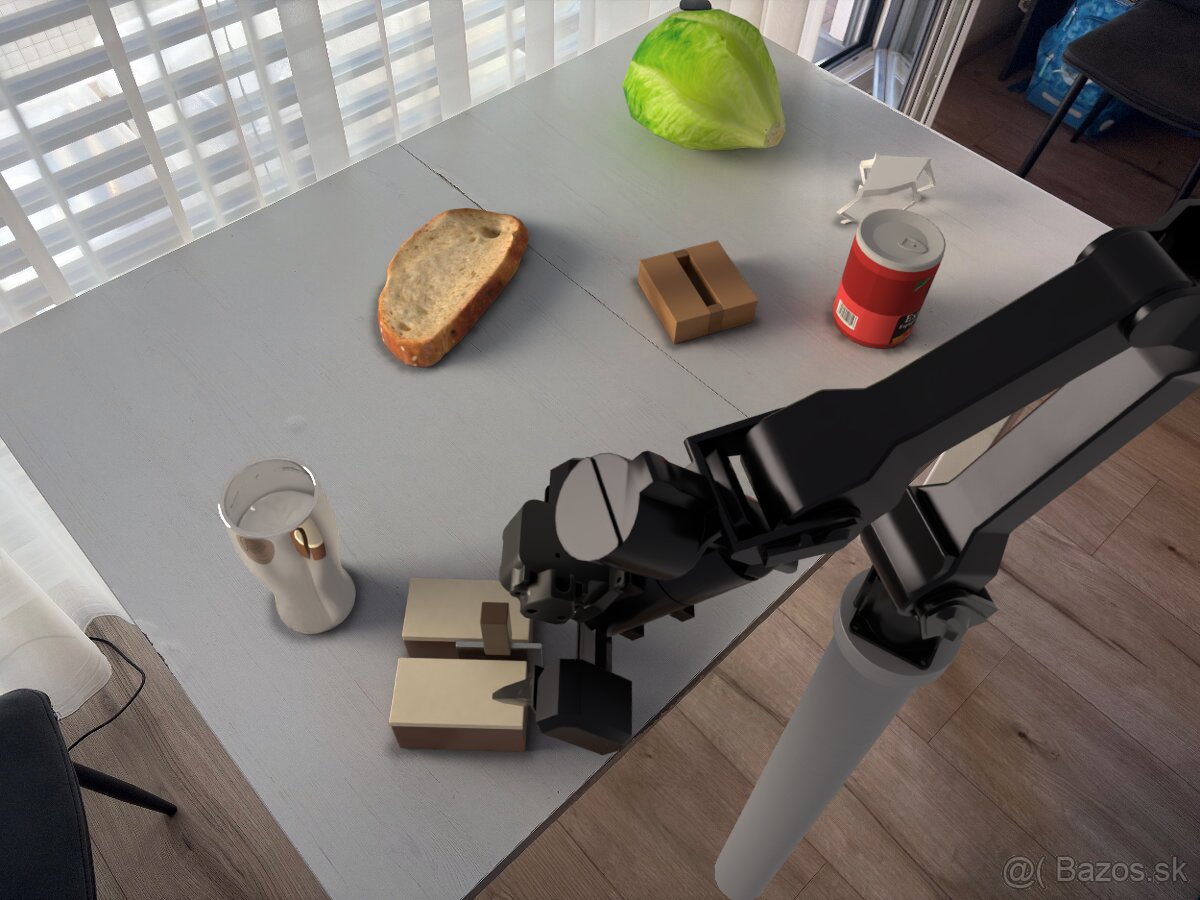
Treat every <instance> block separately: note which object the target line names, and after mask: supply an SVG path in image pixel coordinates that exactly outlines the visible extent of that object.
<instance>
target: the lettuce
mask: <svg viewBox="0 0 1200 900" xmlns="http://www.w3.org/2000/svg"><path fill="white" fill-rule="evenodd" d="M621 85H622V88H623V94H624V99H625V101H626V106H627V109H628V111H629V114H630V117H631V119H633V120H634V121H636V122H637V123H639V124H640V125H641V126H642V127H644V128H646V129H647V130H648V131H650V132H651V133H652V134H654V135H656V136H658V137H660V138H662V139H663V140H666V141H668V142H670V143H672V144H674V145H677V146H678V147H681V148H683V149H686V150H700V151H711V152H712V151H728V150H729V151H730V150H738V149H769V148H771V147H775V146H777V145H778V144H779V143H780V142H781V141H782V139H783V137H784V136H785V133H786V118H785V114H784V110H783V106H782V102H781V94H780V82H779V79H778V75H777V72H776V68H775V65H774V62H773V60H772V58H771V55H770V52H769V50H768V47H767V45H766V43H765V40H764V38H763V36H762V34H761V31H760V29H759V28H757V27H756V26H755V25H754V24H752V23H751V22H750V21H748V20H747V19H745V18H743V17H740V16H738V15H736V14H733V13H730V12H728V11H726V10H723V9H721V8H716V9H715V8H714V9H702V10H680V11H676V12H674V13H673V12H672V13H671V14H669V15H668V16H667V17H666V18H665V19H664V20H663V21H661V22H660V23H659V24H658V25H657V26H655V27H654V28H653V29H652V30H650V32H648V33H647V34H646V35H645V36H644V38H643V39H642V40H641V41H640V43H639V44H638V46H637V47H636V49H635V51H634V53H633V54H632V57H631V61H630V63H629V65H628V68H627V71H626V73H625V76H624V79H623V81H622V84H621Z"/></svg>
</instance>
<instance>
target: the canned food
mask: <svg viewBox="0 0 1200 900" xmlns="http://www.w3.org/2000/svg"><path fill="white" fill-rule="evenodd" d="M946 245H947V244H946V239H945V236H944V234H943V233H942V231H941V230H940V228H939V227H938V226H936V224H935V223H933V221H931V220H930V219H928V218H926V217H924V216H923V215H920V214H919V213H915V212H913V211H909V210H907V209H906V210H902V209H900V208H899V209H898V208H883V209H878V210H875V211H872V212H870V213H868V214H867V215H865V216H864V217H863V218H862V219H861V221H859V224H858V227H857V228H856V231H855V235H854V237H853V239H852V244H851V246H850V249H849V253H848V257H847V259H846V263H845V265H844V269H843V272H842V276H841V279H840V282H839V285H838V289H837V292H836V295H835V299H834V302H833V305H832V315H833V321H834V324H835V326H836V327H837V329H838V330H839V332H840V333H841V334H843V336H845V337H846V338H847V339H849V340H850V341H852V342H854V343H855V344H858V345H860V346H864V347H867V348H873V349H888V348H892V347H895V346H897V345H899V344H901V343H902V342H903V341H904V340H906V338H908V336H909V335H910V334H911V333H912V331H913V329H914V327H915V324H916V322H917V320H918V317H919V315H920V313H921V310H922V308H923V306H924V303H925V301H926V299H927V297H928V294H929V292H930V289H931V288H932V285H933V283H934V280H935V278H936V275H937V273H938V271H939V269H940V266H941V263H942V261H943V259H944V255H945V251H946Z"/></svg>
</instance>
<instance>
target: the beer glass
mask: <svg viewBox="0 0 1200 900" xmlns="http://www.w3.org/2000/svg"><path fill="white" fill-rule="evenodd" d="M218 511H219V514H220V517H221V519H222V521H223V523H224V526H225V529H226V531H227V534H228V537H229V539H230V542H231V543H232V545H233V548H234V550H235V552H236V554H237V555H238V557H239V558H240V560H241V561H242V563H243V565H244V566H245V567H246V568H247V569H248V570H249V571H250V573H251V574H252V575H253V576H254V577H255V578H256V579H257V580H258V581H259V582H260V583H261V584H262V585H263V586H265V588H267V589H268V590H269V591H270V592H271V593H272V594H273V595H274V601H275V607H276V611H277V614H278V617H279V618H280V620H281V621H282V623H283V624H284V625H285V626H286V627H287V628H289V629H290V630H292V631H294V632H296V633H299V634H304V635H316V634H321V633H326V632H328V631H330V630H332V629H334V628H337V626H339V625H340V624H341V623H343V622H344V621H345V620H346V619H347V617H348V616H349V615H350V613H351V612H352V610H353V608H354V605H355V603H356V596H357V595H356V594H357V593H356V592H357V591H356V586H355V583H354V580H353V579H352V577H351V575H350V574H349V573H348V572H347V571H346V570H345V569H344V567H342V564H341V546H340V545H341V543H340V534H339V525H338V522H337V519H336V516H335V512H334V508H333V506H332V504H331V502H330V499H329V498H328V495H327V493H326V491H325V490H324V488H323V486H322V484H321V482H320V480H319V478H318V475H317V473H316V472H315V471H314V469H313V468H312V467H311V465H309V464H308V463H306V462H305V461H304V460H302V459H299V458H297V457H295V456H290V455H284V454H283V455H282V454H273V455H265V456H261V457H258V458H255V459H252V460H250V461H247V462H246V463H244V464H243V465H241V466H239V468H237V469H236V470H234V471H233V472H232V473H231V475H229V477H228V478H227V479H226V481H225V482H224V484H223V485H222V487H221V489H220V492H219V497H218Z"/></svg>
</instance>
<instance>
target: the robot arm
mask: <svg viewBox="0 0 1200 900" xmlns="http://www.w3.org/2000/svg"><path fill="white" fill-rule="evenodd" d="M1199 389H1200V198H1183V199H1181V200H1178V201H1177V202H1176V203H1175V204H1174V205H1173V206H1172V207H1171V208H1170V209H1169V210H1168V211H1167V212H1166V213H1164V215H1162V217H1160V218H1159V220H1158V221H1156V222H1155V223H1146V224H1130V225H1124V226H1119V227H1114V228H1112V229H1110V230H1108V231H1106V232H1104V233H1102V234H1099V236H1098V237H1096V238H1095V239H1094V240H1092V241H1090V243H1088V244H1087V245H1086V246H1085V248H1084V249H1082V251H1080V252H1079V254H1078V255H1077V257H1076V259H1075V261H1074V263H1073V264H1071V266H1069V267H1067V268H1065V269H1064V270H1062V271H1060V272H1059V273H1057V274H1055V275H1054V276H1052V277H1050V278H1049V279H1047V280H1045V281H1044V282H1042V283H1040V284H1039V285H1037V286H1036V287H1033V288H1032V289H1031V290H1029V291H1027V292H1025V293H1023V294H1022V295H1021V296H1018V297H1017V298H1016V299H1014V300H1012V301H1010V302H1009V303H1007V304H1006V305H1004V306H1002V307H1000V308H999V309H997V310H995V311H994V312H993V313H991V314H989V315H987V316H985V317H983V318H982V319H980V320H979V321H977V322H976V323H974V324H972V325H971V326H968V327H967V328H965V329H964V330H962V331H961V332H959V333H957V334H956V335H954V336H953V337H951V338H949V339H948V340H946V341H944V342H942V343H941V344H939V345H938V346H936V347H934V348H933V349H931V350H929V351H928V352H926V353H925V354H923V355H920V356H919V357H917V358H916V359H915V360H912V361H911V362H909V363H907V364H906V365H904V366H903V367H901V368H899V369H898V370H896V371H895V372H893V373H891V374H889V375H888V376H886V377H884V378H882V379H880V380H878V381H876V382H874V383H872V384H870V385H868V386H866V387H856V388H851V387H850V388H823V389H819V390H816V391H815V392H813V393H810V394H809V395H807V396H805V397H802V398H800V399H798V400H797V401H794V402H793V403H790V404H788V405H786V406H783V407H779V408H776V409H772V410H769V411H766V412H763V413H759V414H756V415H753V416H750V417H747V418H743V419H741V420H738V421H734V422H731V423H728V424H725V425H722V426H718V427H715V428H712V429H709V430H706V431H702V432H699V433H696V434H693V435H690V436H687V437H686V438H685V439H684V440H683V445H684V449H685V451H686V453H687V455H688V457H689V460H690V463H689V464H687V465H686V466H685V467H682V466H680V465H678V464H675V463H673V462H670V461H669V460H668V459H667V458H665V457H664V456H662V455H661V454H658V453H656V452H653V451H651V450H643V451H642V452H640V453H639V454H638V455H636V456H635V457H634V458H633V459H630V458H628V457H626V456H622V455H620V454H616V453H613V452H600V453H598V454H597V453H596V454H595V455H593V456H586V457H571V458H570V459H567V460H566V461H563V462H561V463H560V464H558V465H557V466H555V467H553V468H551V469H549V473H550V474H549V485H547V486H546V487H545V488H544V498H543V500H540V499H535V498H533V499H528V500H527V501H525V502H524V503H523V505H522V506H521V507H520V508H519V509H518V511H517V512H516V513H515V514H514V516H513V517H512V518H511V519H510V521H509V522H508V523H507V525H506V526H505V527H504V528H503V531H502V536H501V537H502V538H501V540H502V550H501V561H500V566H499V571H498V579H499V581H500V583H501V585H502V586H503V587H504V589H506V590H507V591H508V592H510V595H511V596H513V597H516V598H518V599H519V601H520V613H521V614H522V615H523V616H524V617H525V618H528V619H533V621H538V622H542V623H546V624H551V625H557V626H558V625H564V624H566V623H568V622H569V620H572V621H574V622H576V623H577V625H576V647H575V658H558V659H555V660H553V661H550V662H547V664H546V665H545V667H544V666H543V667H540V666H538V665H534V670H533V677H530V678H527V679H524V680H522V681H519V682H516V683H513V684H510V685H507V686H504V687H502V688H501V689H499V690H497V691H495V692H494V693H493V694H492V699H493V700H495V701H498V702H501V703H505V704H511V705H517V706H524V707H528V708H529V709H530V708H531V710H532V713H534V714H535V719H534V720H535V723H536V725H537V727H538V730H539V731H540V732H541V734H542V735H545V736H547V737H550V738H553V739H556V740H558V741H560V742H561V741H562V742H564V743H567V744H569V745H573V746H575V747H578V748H581V749H583V750H587V751H589V752H591V753H595V754H597V755H599V756H600V755H601V756H605V755H609V754H613V753H615V752H619V751H622V750H624V749H625V748H626V747H627V746H629V745H630V744H631V743H632V738H633V680H631V679H629V678H626V677H624V676H622V675H619V674H617V673H615V672H613V647H614V646H613V644H614V643H613V640H614V639H613V638H614V637H615V636H621V637H623V638H625V639H627V640H630V641H631V642H634V641H637V640H639V639H642V638H645V625H646V624H649V623H651V622H654V621H657V620H659V619H661V618H664V617H666V616H667V617H668V616H669V617H671V618H673V619H675V620H677V621H679V622H681V623H684V622H686V621H689V620H692V619H694V618H696V612H695V611H696V609H695V605H697V604H700V603H703V602H705V601H707V600H710V599H712V598H713V599H714V598H715V597H718V596H720V595H724V594H726V593H728V592H730V591H733V590H736V589H738V588H741V587H744V586H746V585H748V584H749V585H750V584H752V583H753V582H756V581H759V580H760V579H763V578H765V577H766V576H768V575H769V574H770V573H772V572H773V571H774V570H775V571H778V572H781V573H783V574H787V575H789V574H795V573H796V572H797V571H798V567H799V561H801V560H805V559H809V558H813V557H817V556H822V555H826V554H827V555H828V554H831V553H835V552H838V551H841V550H843V549H844V548H846V547H847V546H848V544H850V543H851V542H853V541H854V540H856V538H858V537H859V539H860V543H861V544H862V546H863V548H864V550H865V551H866V553H867V556H868V557H869V560H870V561H871V564H872V565H871V566H870V567H869V568H870V570H869V572H868V574H867V576H866V578H865V580H864V582H863V584H862V586H861V588H860V590H859V592H858V594H857V596H856V598H855V600H854V602H853V605H854V607H855V608H857V610H856V612H855V614H854V616H853V618H852V620H851V622H850V624H849V627H848V629H849V631H850V633H852V634H853V635H855V636H857V637H859V638H861V639H863V640H865V641H867V642H869V643H871V644H873V645H874V646H876V647H878V648H880V649H882V650H884V651H886V652H888V653H890V654H892V655H894V656H896V657H898V658H899V659H901V660H903V661H905V662H907V663H909V664H911V665H913V666H915V667H917V668H919V669H921V670H927V669H928V668H929V667H930V666H931V664H932V661H933V659H934V657H935V654H936V652H937V649H938V647H939V645H940V643H941V642H942V640H943V639H944V638H945V639H947V640H950V641H952V642H954V641H958V640H960V639H961V638H962V637H963V638H964V636H965V634H966V633H967V631H968V630H969V629H970V628H973V627H975V626H979V625H981V624H984V623H986V622H987V621H988V619H989V618H990V617H992V616H993V615H994V614H995V613H997V612H998V611H999V608H998V606H997V604H996V603H995V601H994V600H993V597H992V596H991V594H990V593H989V591H988V589H987V588H986V585H988V584H989V583H990V582H991V581H992V580H993V579H994V578H995V577H996V576H997V574H998V572H999V569H1000V566H1001V563H1002V560H1003V557H1004V554H1005V551H1006V547H1007V544H1008V541H1009V538H1010V536H1011V533H1012V532H1014V531H1015V530H1016V529H1018V527H1020V526H1022V525H1023V524H1024V523H1026V521H1028V520H1029V519H1030V518H1031V517H1033V516H1034V515H1036V514H1038V512H1039V511H1041V510H1043V509H1044V508H1045V507H1046V506H1047V505H1049V504H1050V503H1051V502H1053V501H1054V500H1055V499H1057V498H1058V497H1059V496H1060V495H1062V494H1063V493H1064V492H1066V491H1067V490H1068V489H1069V488H1071V487H1072V486H1073V485H1075V484H1077V482H1079V481H1080V480H1081V479H1083V478H1084V477H1085V476H1087V475H1088V474H1090V472H1092V471H1093V470H1095V469H1096V468H1098V466H1100V465H1101V464H1102V463H1103V462H1105V461H1106V460H1108V459H1109V458H1110V457H1111V456H1113V455H1114V454H1115V453H1117V452H1118V451H1119V450H1121V449H1122V448H1123V447H1124V446H1126V445H1127V444H1129V443H1130V442H1131V441H1132V440H1133V439H1135V438H1137V437H1138V436H1139V435H1140V434H1141V433H1143V432H1145V430H1147V429H1148V428H1149V427H1151V426H1152V425H1154V424H1155V423H1157V421H1159V420H1160V419H1161V418H1162V417H1164V416H1165V415H1166V414H1167V413H1169V412H1171V410H1173V409H1174V408H1175V407H1177V406H1179V405H1180V404H1181V403H1182V402H1184V401H1185V400H1186V399H1187V398H1189V397H1190V396H1191V395H1192V394H1194V393H1195V392H1197V391H1198V390H1199ZM1050 393H1051V394H1050ZM1048 394H1050V395H1049V396H1048V397H1047V398H1046V399H1044V400H1042V402H1041V403H1039V405H1037V406H1036V407H1035V408H1034V409H1033V410H1032V411H1030V412H1029V413H1028V414H1027V415H1025V416H1024V417H1023V418H1022V419H1021V420H1020V421H1019V422H1018V423H1016V424H1015V425H1014V426H1013V427H1012V428H1011V429H1009V430H1008V431H1007V432H1006V433H1005V434H1004V435H1002V436H1001V437H1000V438H999V439H998V440H996V441H995V442H994V443H993V444H992V445H990V447H988V448H987V449H986V450H985V451H984V452H982V453H981V454H980V455H979V456H978V457H977V458H975V459H974V460H973V461H972V462H970V464H968V466H966V467H964V468H963V470H962V471H960V472H958V474H957V475H956V476H955V477H953V478H951V479H950V480H949V481H947V482H939V483H937V482H936V483H930V484H919V485H910V483H911V482H912V480H913V479H914V477H915V475H916V473H917V472H918V470H919V469H920V468H921V467H924V466H925V465H926V464H928V463H929V462H930V461H932V460H934V459H936V458H937V457H938V456H940V455H942V454H943V453H945V452H948V451H949V450H951V449H953V448H954V447H956V446H958V445H960V444H961V443H963V442H965V441H967V440H969V439H970V438H973V437H974V436H976V435H977V434H979V433H981V432H983V431H985V430H986V429H988V428H990V427H992V426H994V425H995V424H997V423H999V422H1001V421H1002V420H1005V419H1006V418H1008V417H1009V416H1011V415H1013V414H1015V413H1016V412H1018V411H1020V410H1022V409H1024V408H1025V407H1027V406H1029V405H1031V404H1032V403H1034V402H1036V401H1038V400H1040V399H1042V398H1044V397H1046V396H1047V395H1048ZM737 456H739V462H740V464H741V467H742V469H743V471H744V473H745V476H746V478H747V480H748V483H749V484H750V486H751V489H752V491H753V494H754V496H755V498H754V497H752V496H750V495H748V494H745V492H744V489H743V487H742V485H741V483H740V480H739V478H738V476H737V473H736V471H735V469H734V467H733V465H732V461H731V460H730V457H737ZM853 626H856V627H857V628H858V629H857V630H856V629H854V628H853ZM921 661H924V662H925V663H926V665H923V664H922V663H921Z"/></svg>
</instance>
